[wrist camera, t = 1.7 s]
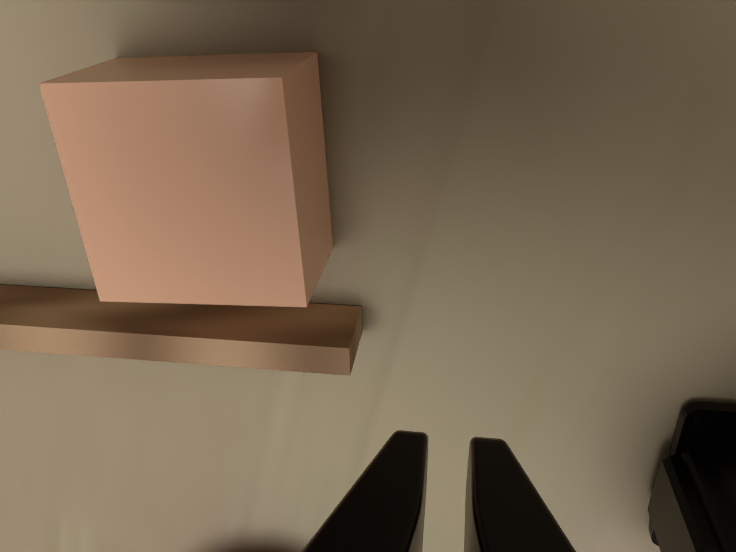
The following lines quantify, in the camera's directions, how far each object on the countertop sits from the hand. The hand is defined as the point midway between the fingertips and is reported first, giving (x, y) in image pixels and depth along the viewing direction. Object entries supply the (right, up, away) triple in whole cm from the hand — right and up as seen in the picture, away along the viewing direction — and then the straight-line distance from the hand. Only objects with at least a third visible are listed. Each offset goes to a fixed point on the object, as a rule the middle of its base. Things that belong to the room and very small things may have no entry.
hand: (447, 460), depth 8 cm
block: (-5, +6, +12) cm, 14 cm away
